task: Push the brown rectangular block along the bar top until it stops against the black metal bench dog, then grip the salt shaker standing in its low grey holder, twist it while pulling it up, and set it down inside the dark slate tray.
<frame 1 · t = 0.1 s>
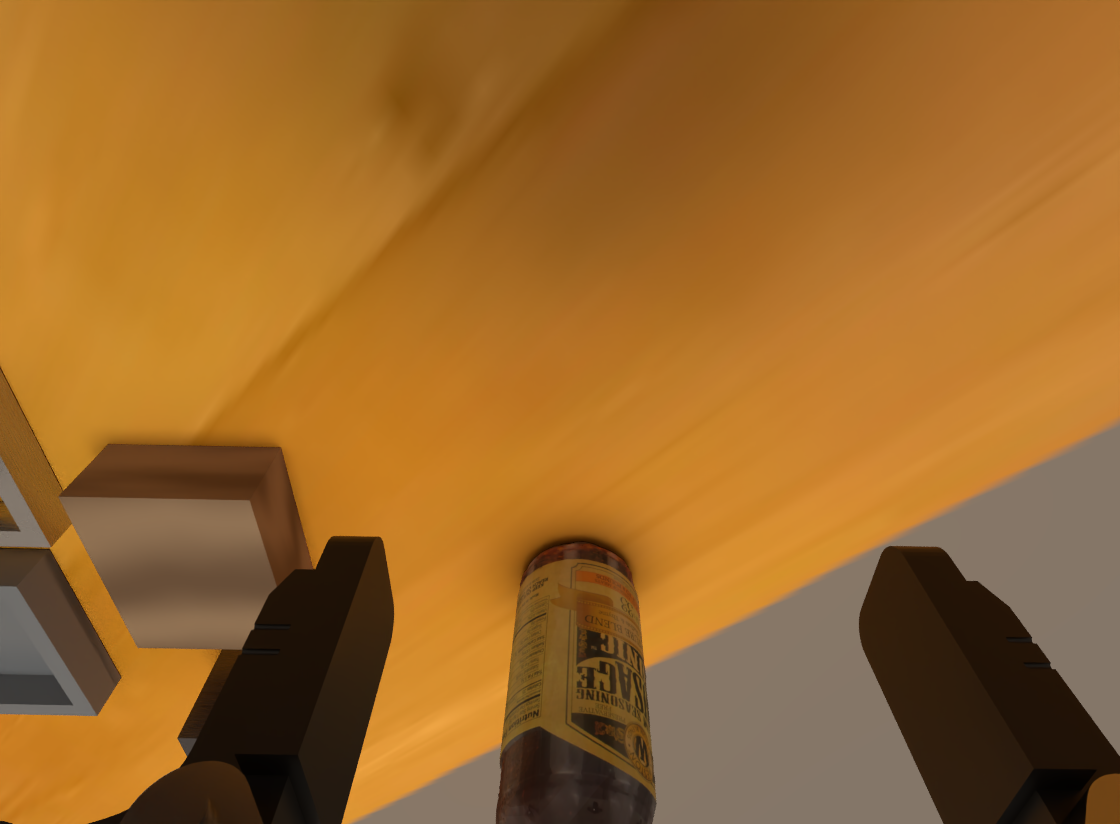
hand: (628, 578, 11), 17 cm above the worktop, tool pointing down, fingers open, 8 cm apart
brown rectangular block: (225, 520, 34), on the worktop
sauce bottle: (574, 571, 36), on the worktop
bench dog: (269, 660, 40), on the worktop
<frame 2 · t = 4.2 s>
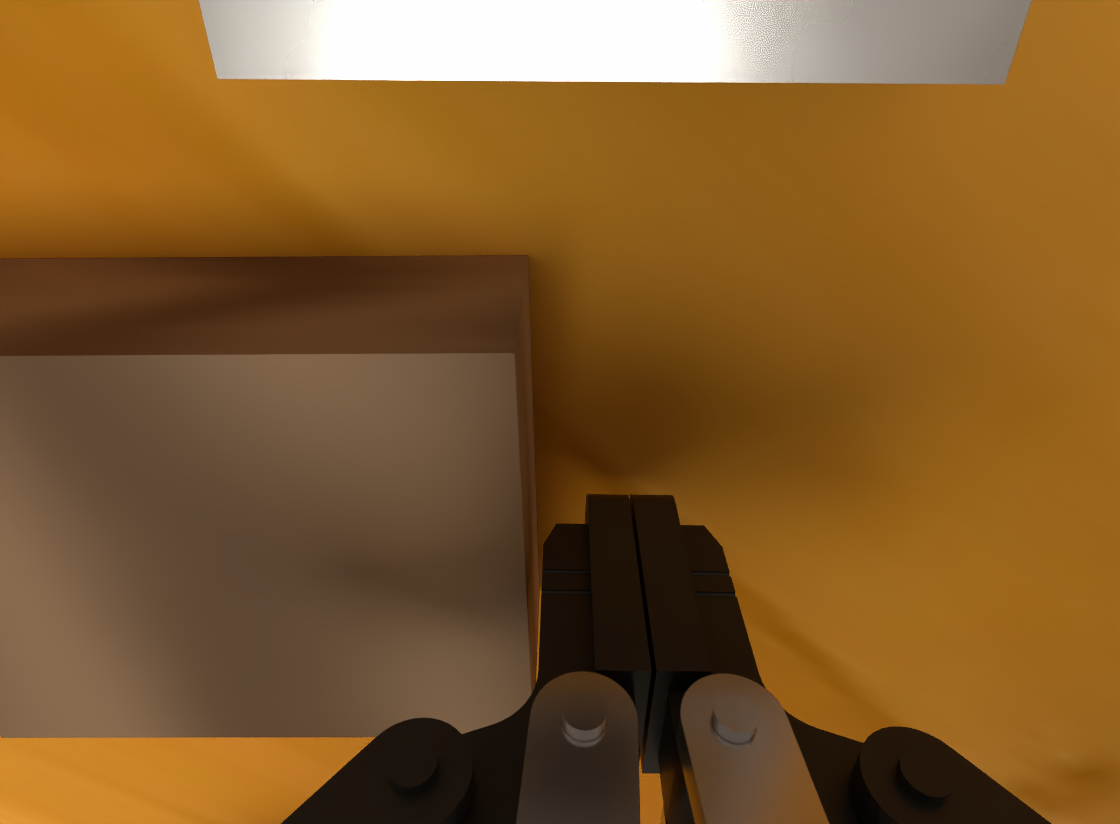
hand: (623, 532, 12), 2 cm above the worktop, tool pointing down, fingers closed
brown rectangular block: (293, 440, 14), on the worktop, touching gripper
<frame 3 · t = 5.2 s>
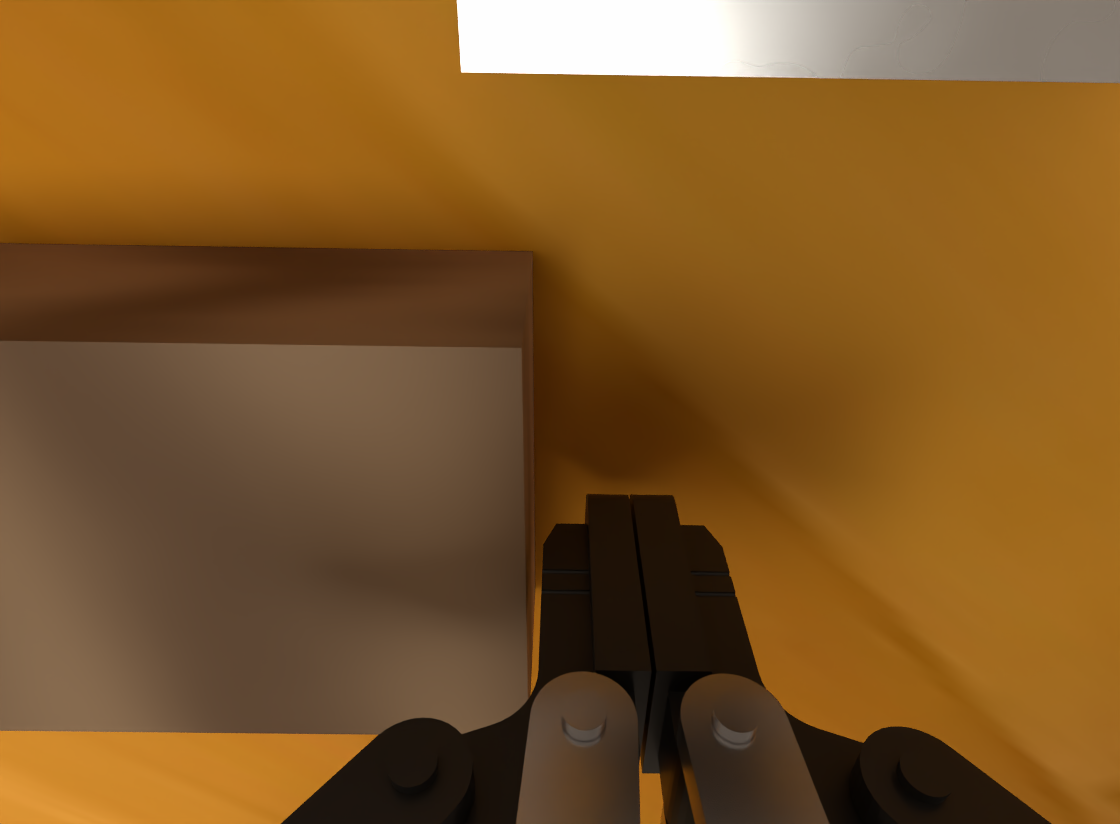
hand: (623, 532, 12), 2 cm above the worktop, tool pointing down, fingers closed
brown rectangular block: (290, 433, 14), on the worktop, touching gripper
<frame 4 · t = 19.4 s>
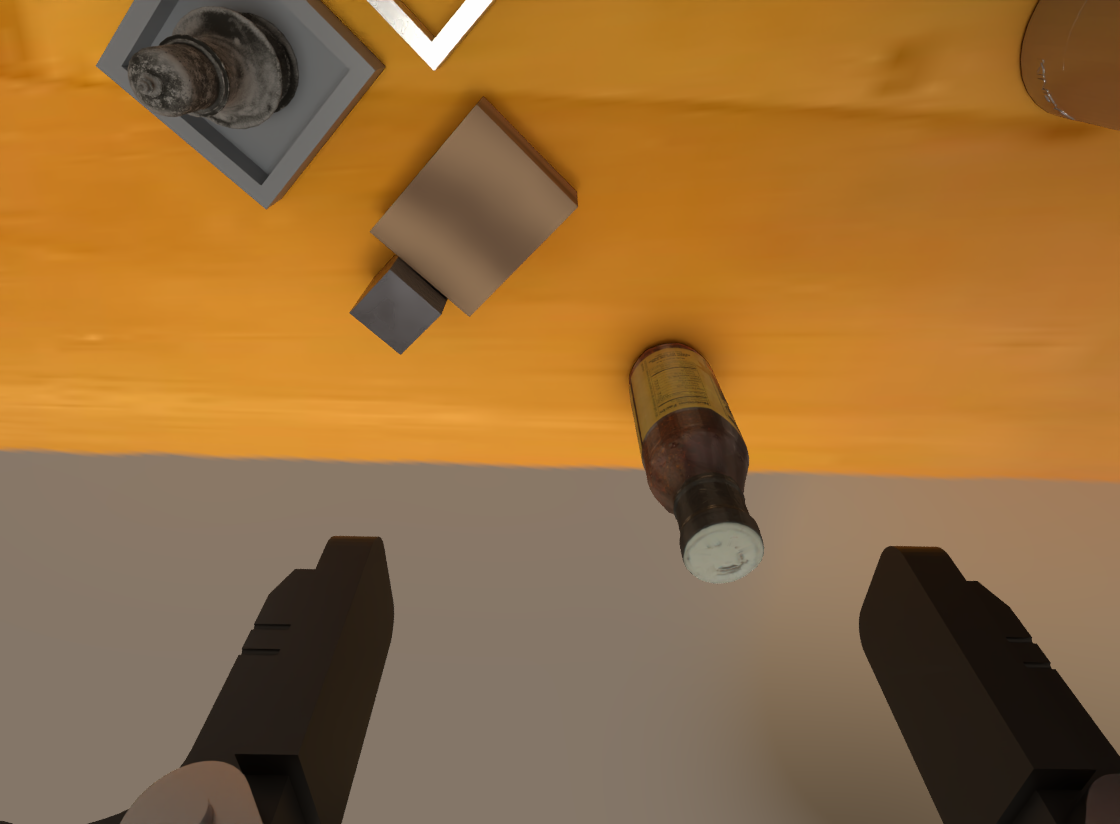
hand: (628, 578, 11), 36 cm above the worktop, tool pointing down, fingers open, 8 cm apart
brown rectangular block: (479, 202, 44), on the worktop
sauce bottle: (668, 371, 50), on the worktop
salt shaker: (254, 64, 39), resting on tray
bench dog: (414, 279, 46), on the worktop
tray: (253, 64, 39), on the worktop
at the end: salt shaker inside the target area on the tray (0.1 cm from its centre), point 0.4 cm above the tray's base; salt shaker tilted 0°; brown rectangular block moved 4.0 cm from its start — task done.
